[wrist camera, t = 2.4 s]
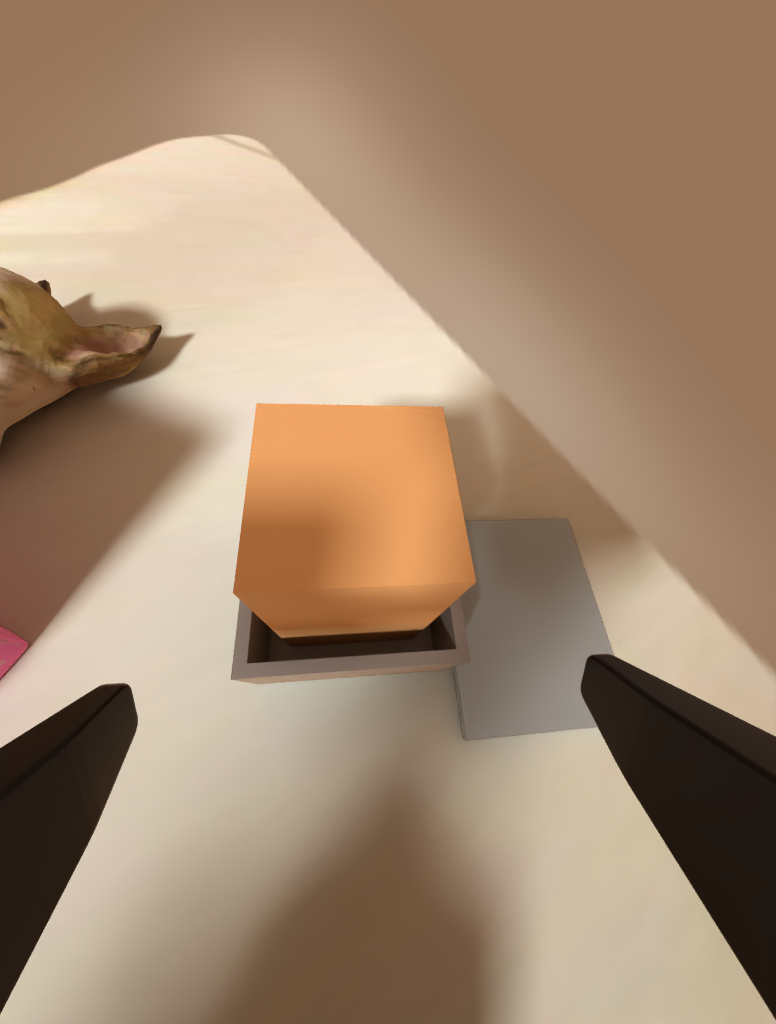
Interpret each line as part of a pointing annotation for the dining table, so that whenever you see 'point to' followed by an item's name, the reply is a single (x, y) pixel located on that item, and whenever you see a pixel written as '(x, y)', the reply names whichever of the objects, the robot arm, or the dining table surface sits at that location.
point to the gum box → (10, 649)
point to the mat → (526, 630)
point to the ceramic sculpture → (55, 349)
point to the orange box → (351, 523)
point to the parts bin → (346, 652)
